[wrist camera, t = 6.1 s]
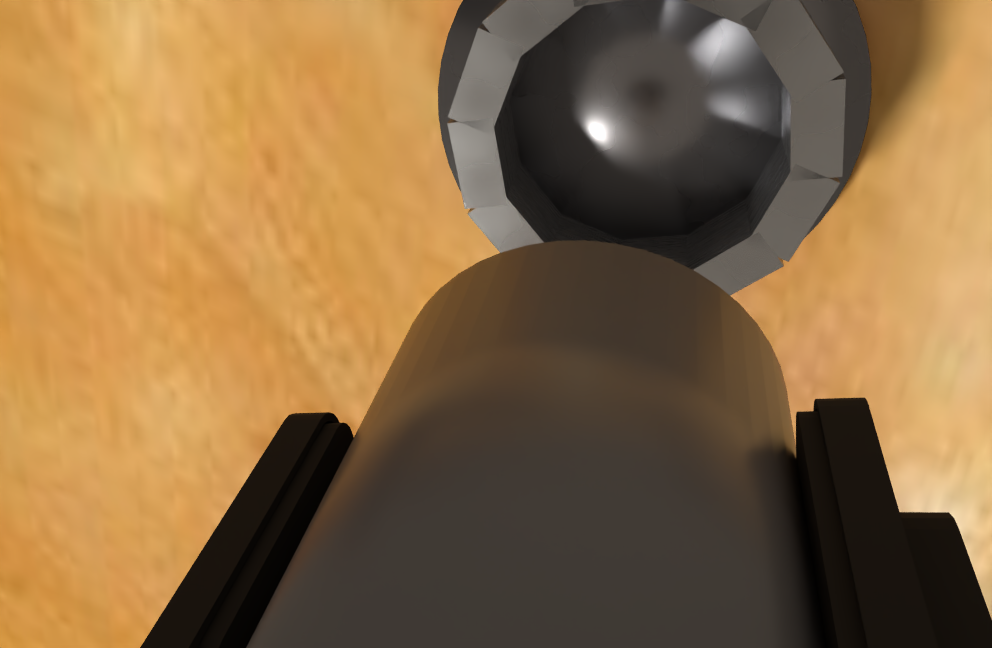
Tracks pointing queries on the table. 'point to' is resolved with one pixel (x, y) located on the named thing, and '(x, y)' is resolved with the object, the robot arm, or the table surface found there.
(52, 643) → the table surface
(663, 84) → the flanged grey collar
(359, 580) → the grey cylinder
